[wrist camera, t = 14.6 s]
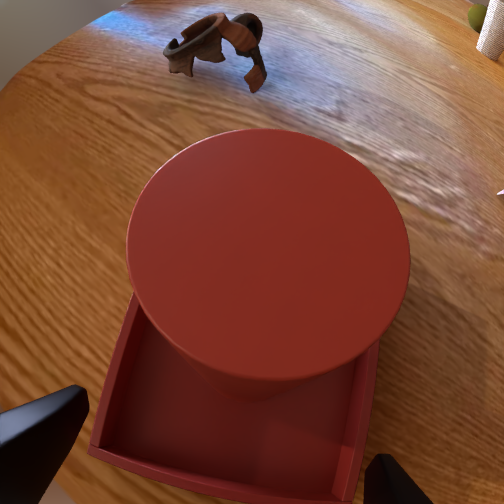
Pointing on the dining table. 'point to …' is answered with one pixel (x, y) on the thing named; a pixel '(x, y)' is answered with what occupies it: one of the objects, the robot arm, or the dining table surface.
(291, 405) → the red tray
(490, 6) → the cup
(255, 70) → the brown irregular piece
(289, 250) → the red pin
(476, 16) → the apple
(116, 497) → the dining table surface
